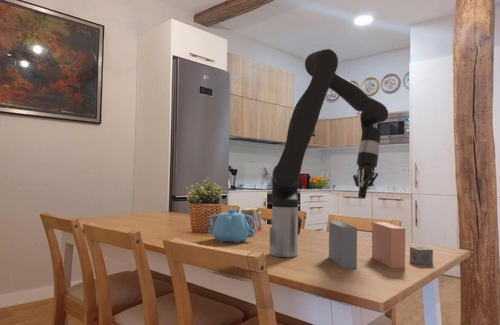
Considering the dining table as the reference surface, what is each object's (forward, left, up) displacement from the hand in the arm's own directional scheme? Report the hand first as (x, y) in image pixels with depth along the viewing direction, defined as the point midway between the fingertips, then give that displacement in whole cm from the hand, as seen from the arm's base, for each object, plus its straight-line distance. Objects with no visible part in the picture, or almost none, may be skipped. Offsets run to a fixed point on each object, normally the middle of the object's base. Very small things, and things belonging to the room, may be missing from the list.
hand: (361, 197), depth 138 cm
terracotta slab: (-1, -16, -21) cm, 26 cm away
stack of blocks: (-25, +54, -21) cm, 63 cm away
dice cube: (+10, -19, -21) cm, 30 cm away
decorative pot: (-41, +34, -21) cm, 57 cm away
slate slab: (-16, -12, -21) cm, 28 cm away
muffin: (-8, +45, -21) cm, 51 cm away
